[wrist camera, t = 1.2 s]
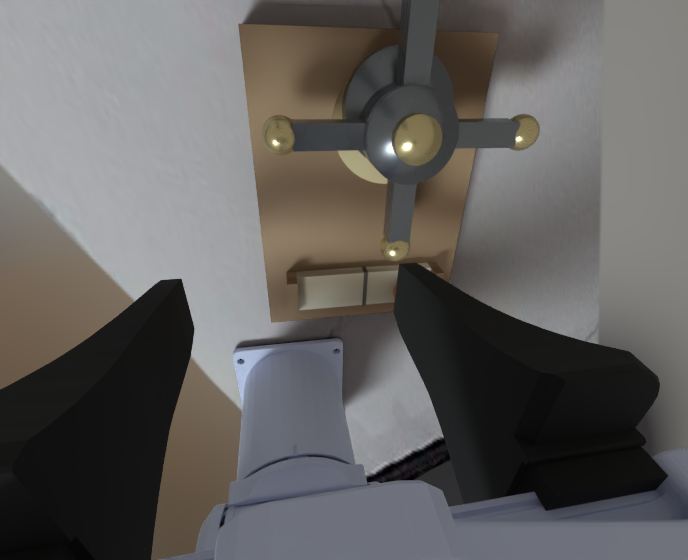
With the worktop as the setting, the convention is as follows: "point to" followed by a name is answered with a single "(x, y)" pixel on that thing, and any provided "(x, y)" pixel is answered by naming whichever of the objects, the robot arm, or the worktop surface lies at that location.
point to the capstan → (401, 121)
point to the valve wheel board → (346, 171)
